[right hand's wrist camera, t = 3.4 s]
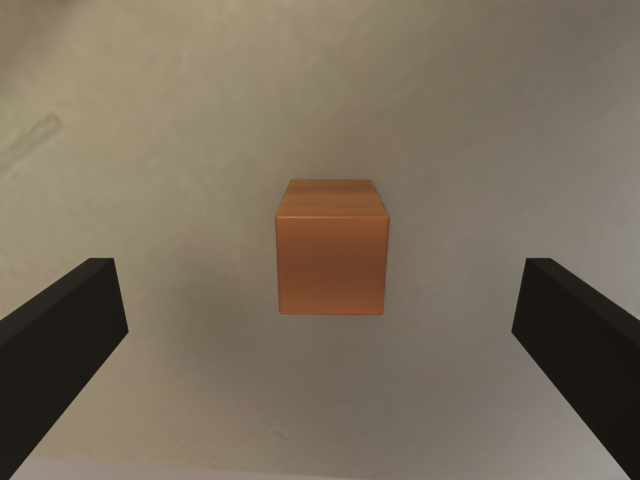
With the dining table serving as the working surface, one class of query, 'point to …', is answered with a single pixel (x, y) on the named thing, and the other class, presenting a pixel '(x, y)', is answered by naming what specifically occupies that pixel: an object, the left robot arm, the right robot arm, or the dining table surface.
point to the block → (331, 248)
